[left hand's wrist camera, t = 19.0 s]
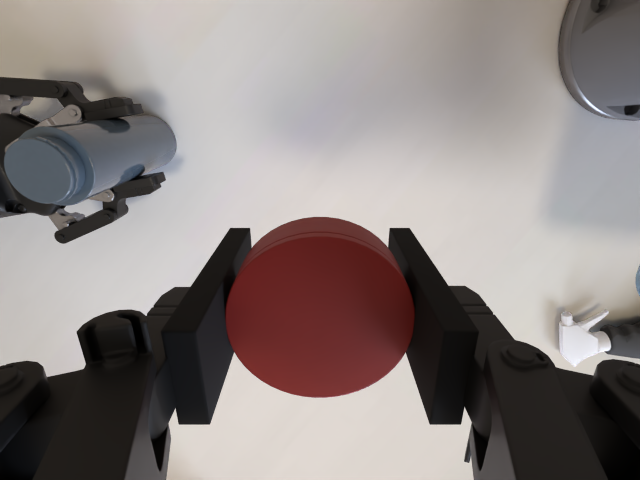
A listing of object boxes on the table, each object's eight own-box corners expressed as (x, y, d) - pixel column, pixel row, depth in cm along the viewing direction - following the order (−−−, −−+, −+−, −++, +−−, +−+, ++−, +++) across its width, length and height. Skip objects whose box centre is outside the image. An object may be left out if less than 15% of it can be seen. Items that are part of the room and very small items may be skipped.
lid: (278, 185, 10) (271, 201, 9) (435, 261, 11) (453, 288, 10) (213, 326, 12) (197, 359, 11) (352, 381, 13) (357, 420, 12)
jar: (171, 173, 37) (76, 223, 22) (122, 157, 36) (-8, 197, 22) (181, 125, 35) (85, 145, 21) (129, 107, 34) (-7, 115, 20)
